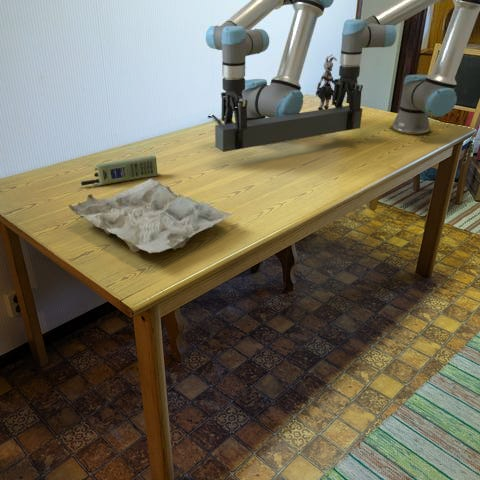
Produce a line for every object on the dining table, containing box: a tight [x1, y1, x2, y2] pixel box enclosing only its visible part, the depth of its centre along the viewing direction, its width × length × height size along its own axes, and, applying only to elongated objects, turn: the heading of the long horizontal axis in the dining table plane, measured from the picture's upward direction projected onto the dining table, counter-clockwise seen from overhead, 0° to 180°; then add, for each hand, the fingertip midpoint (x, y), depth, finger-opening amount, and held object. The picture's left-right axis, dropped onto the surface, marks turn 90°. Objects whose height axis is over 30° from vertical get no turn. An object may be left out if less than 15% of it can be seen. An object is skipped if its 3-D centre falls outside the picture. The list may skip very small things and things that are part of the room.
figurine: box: [315, 53, 338, 110], centre depth 218 cm, size 15×6×30 cm, turn 132°
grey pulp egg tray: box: [68, 178, 232, 254], centre depth 138 cm, size 38×6×30 cm
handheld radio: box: [80, 155, 159, 187], centre depth 164 cm, size 7×3×25 cm
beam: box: [214, 105, 363, 153], centre depth 186 cm, size 61×6×8 cm, turn 119°
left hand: (234, 145), depth 177 cm, fingers closed on beam, 6 cm apart
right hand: (343, 126), depth 198 cm, fingers closed on beam, 6 cm apart
